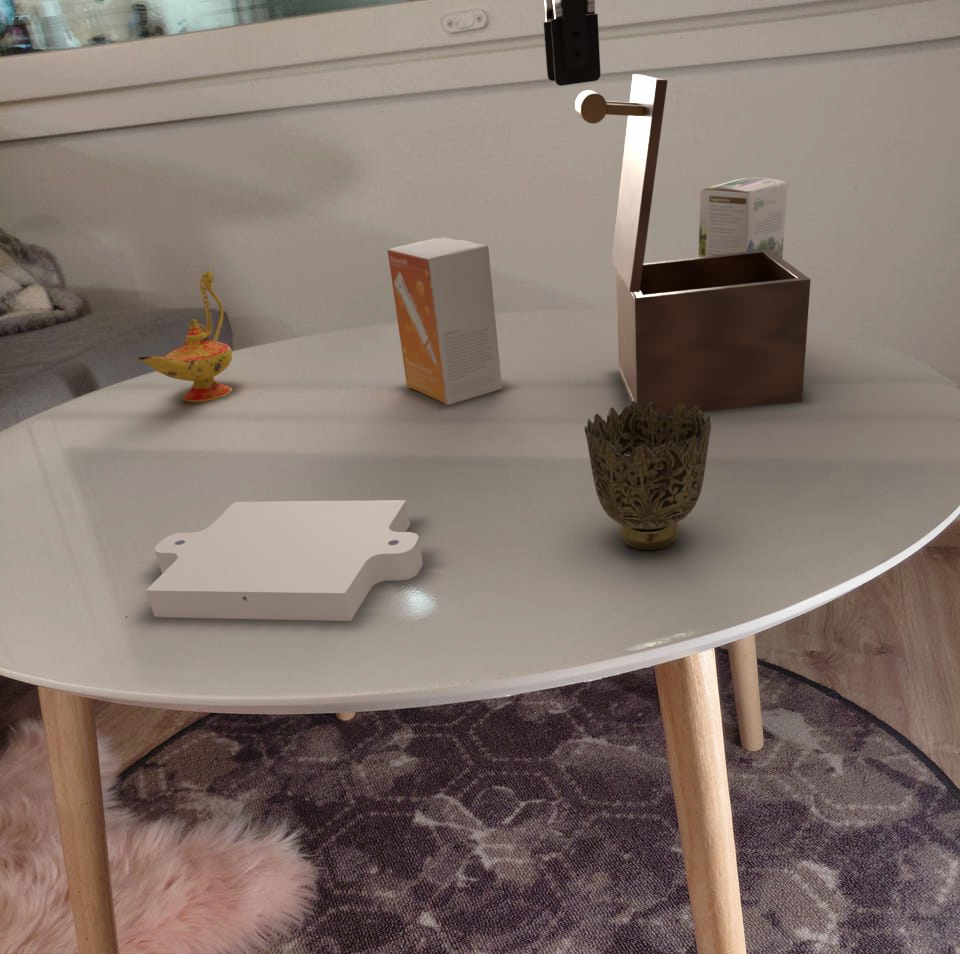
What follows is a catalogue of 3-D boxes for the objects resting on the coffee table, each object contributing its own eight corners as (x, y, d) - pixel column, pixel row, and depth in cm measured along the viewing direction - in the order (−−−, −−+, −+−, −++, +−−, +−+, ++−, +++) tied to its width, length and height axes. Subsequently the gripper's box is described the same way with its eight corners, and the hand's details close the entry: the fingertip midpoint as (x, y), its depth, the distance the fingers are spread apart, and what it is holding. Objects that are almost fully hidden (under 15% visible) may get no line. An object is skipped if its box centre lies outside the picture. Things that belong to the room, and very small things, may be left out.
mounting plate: (118, 616, 61) (109, 590, 60) (209, 526, 72) (202, 502, 71) (391, 622, 57) (386, 593, 56) (444, 525, 67) (441, 499, 66)
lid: (642, 74, 79) (574, 70, 79) (667, 80, 68) (588, 75, 68) (620, 261, 87) (557, 257, 86) (639, 292, 76) (568, 288, 76)
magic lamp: (125, 431, 93) (89, 314, 87) (209, 373, 108) (182, 269, 102) (189, 429, 92) (156, 310, 86) (265, 371, 106) (242, 265, 100)
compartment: (764, 359, 91) (769, 249, 86) (802, 402, 80) (810, 279, 75) (619, 374, 92) (615, 266, 87) (637, 419, 81) (634, 298, 76)
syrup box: (731, 330, 101) (736, 176, 93) (779, 337, 96) (788, 177, 89) (695, 344, 98) (697, 186, 90) (743, 352, 94) (749, 188, 86)
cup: (725, 524, 63) (729, 404, 59) (685, 576, 58) (685, 448, 53) (619, 510, 66) (615, 395, 62) (571, 557, 61) (563, 436, 57)
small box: (405, 388, 95) (385, 248, 89) (461, 372, 98) (445, 235, 91) (446, 406, 89) (427, 257, 82) (504, 389, 92) (490, 243, 85)
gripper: (627, -258, 57) (638, 77, 66) (598, -197, 72) (609, 70, 80) (500, -238, 57) (527, 92, 66) (496, -181, 72) (519, 83, 81)
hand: (572, 80), depth 73 cm, fingers open, 9 cm apart
